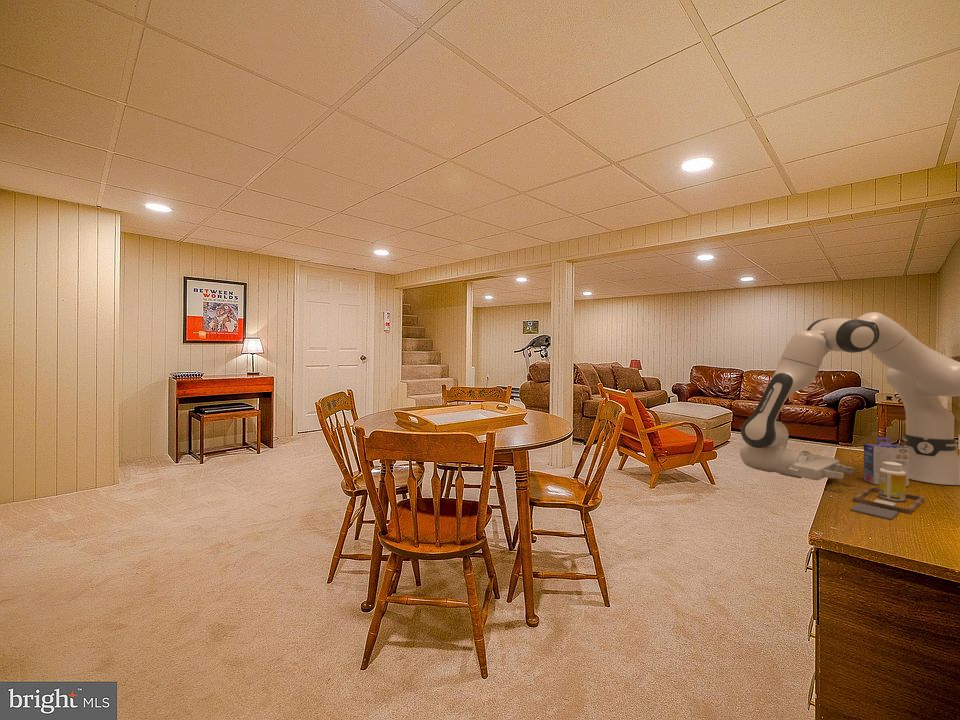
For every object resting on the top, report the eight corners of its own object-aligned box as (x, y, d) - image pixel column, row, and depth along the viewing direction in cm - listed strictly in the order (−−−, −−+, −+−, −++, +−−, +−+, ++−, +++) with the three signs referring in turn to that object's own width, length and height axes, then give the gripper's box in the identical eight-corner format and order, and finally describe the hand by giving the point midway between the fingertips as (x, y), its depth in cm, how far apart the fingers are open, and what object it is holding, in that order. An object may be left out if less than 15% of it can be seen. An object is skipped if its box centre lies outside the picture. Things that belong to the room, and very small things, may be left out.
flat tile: (876, 502, 122) (876, 499, 122) (895, 506, 119) (896, 503, 119) (872, 505, 119) (872, 502, 119) (892, 509, 116) (892, 506, 116)
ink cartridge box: (897, 481, 140) (898, 437, 140) (910, 486, 135) (911, 440, 135) (861, 479, 142) (862, 435, 142) (873, 484, 137) (874, 439, 137)
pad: (859, 504, 119) (859, 502, 119) (898, 513, 112) (899, 511, 112) (850, 510, 114) (850, 508, 114) (891, 520, 108) (891, 518, 108)
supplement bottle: (909, 500, 122) (910, 464, 122) (899, 503, 120) (900, 466, 120) (884, 494, 127) (884, 459, 127) (874, 497, 125) (875, 461, 125)
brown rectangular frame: (870, 489, 131) (870, 486, 131) (924, 500, 122) (924, 497, 122) (852, 501, 121) (852, 497, 121) (910, 514, 112) (910, 510, 112)
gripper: (782, 458, 137) (837, 468, 125) (806, 450, 149) (858, 458, 137) (782, 478, 137) (837, 490, 126) (806, 468, 149) (858, 478, 138)
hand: (848, 473), depth 132 cm, fingers open, 8 cm apart
